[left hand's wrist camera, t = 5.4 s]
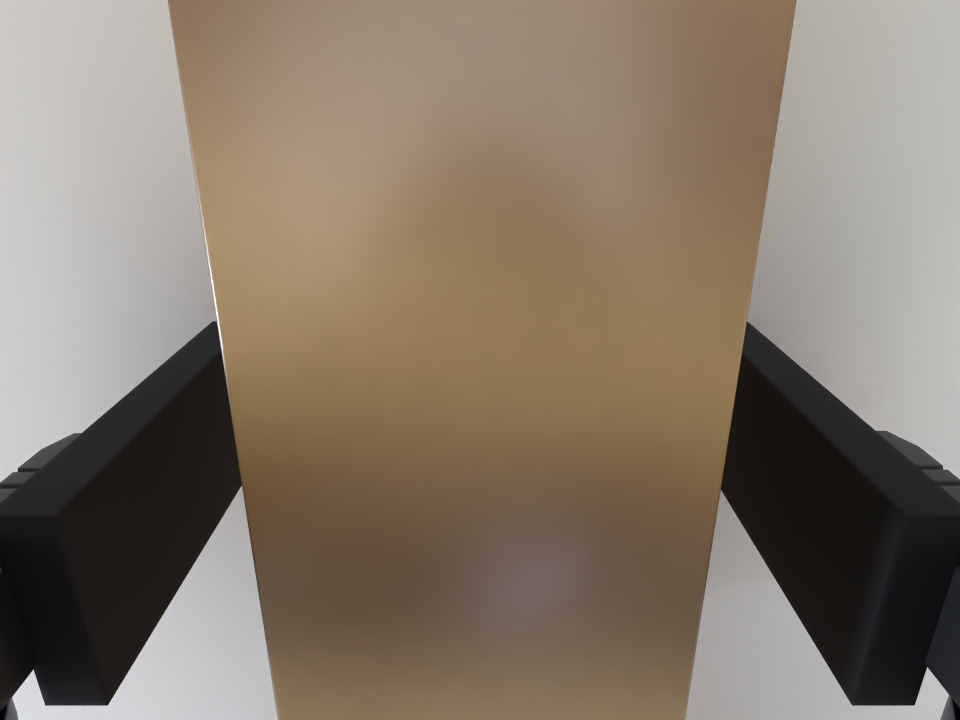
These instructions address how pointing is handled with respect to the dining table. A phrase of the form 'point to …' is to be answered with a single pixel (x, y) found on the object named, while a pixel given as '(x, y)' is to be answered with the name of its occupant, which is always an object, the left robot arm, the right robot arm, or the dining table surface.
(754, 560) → the dining table surface
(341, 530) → the beam
